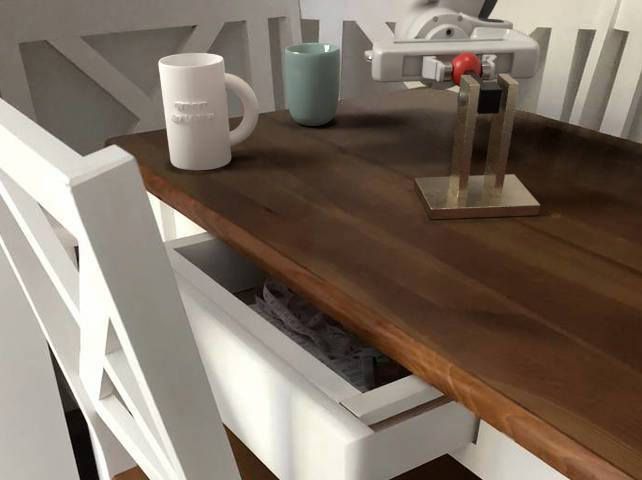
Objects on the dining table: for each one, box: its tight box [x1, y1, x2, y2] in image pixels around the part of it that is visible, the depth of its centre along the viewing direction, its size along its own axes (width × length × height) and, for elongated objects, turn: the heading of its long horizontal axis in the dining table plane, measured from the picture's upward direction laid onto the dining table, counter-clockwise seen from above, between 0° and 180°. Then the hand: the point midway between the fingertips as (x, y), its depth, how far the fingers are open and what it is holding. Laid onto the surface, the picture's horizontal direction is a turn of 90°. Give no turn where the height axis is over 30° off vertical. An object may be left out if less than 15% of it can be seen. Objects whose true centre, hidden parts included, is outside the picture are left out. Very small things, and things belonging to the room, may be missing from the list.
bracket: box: [413, 74, 541, 220], centre depth 80 cm, size 10×12×13 cm
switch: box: [451, 53, 502, 115], centre depth 81 cm, size 13×4×4 cm, turn 4°
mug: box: [157, 52, 260, 171], centre depth 93 cm, size 8×12×12 cm
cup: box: [284, 42, 342, 127], centre depth 107 cm, size 8×8×10 cm
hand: (467, 73), depth 84 cm, fingers closed on switch, 3 cm apart
